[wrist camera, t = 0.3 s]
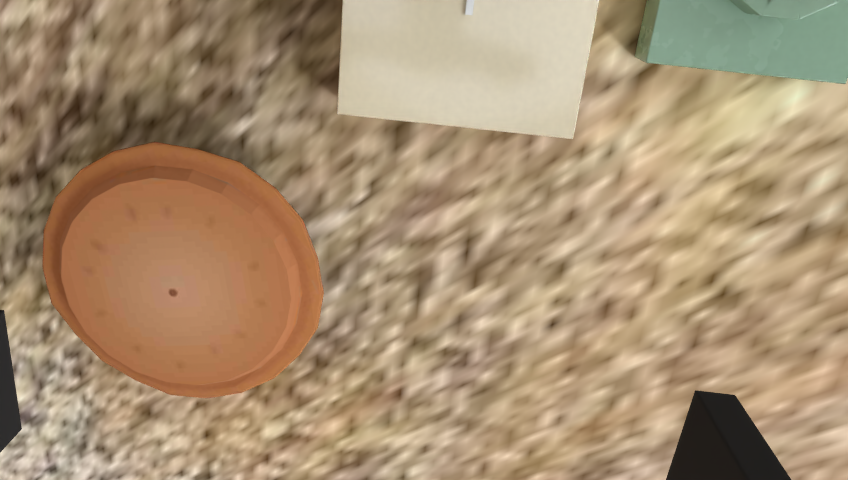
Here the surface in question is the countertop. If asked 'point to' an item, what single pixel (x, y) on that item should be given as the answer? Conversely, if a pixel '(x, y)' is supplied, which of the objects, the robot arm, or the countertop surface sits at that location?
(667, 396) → the countertop surface
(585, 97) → the countertop surface
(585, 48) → the hob console
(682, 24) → the red push button panel
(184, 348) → the pie
